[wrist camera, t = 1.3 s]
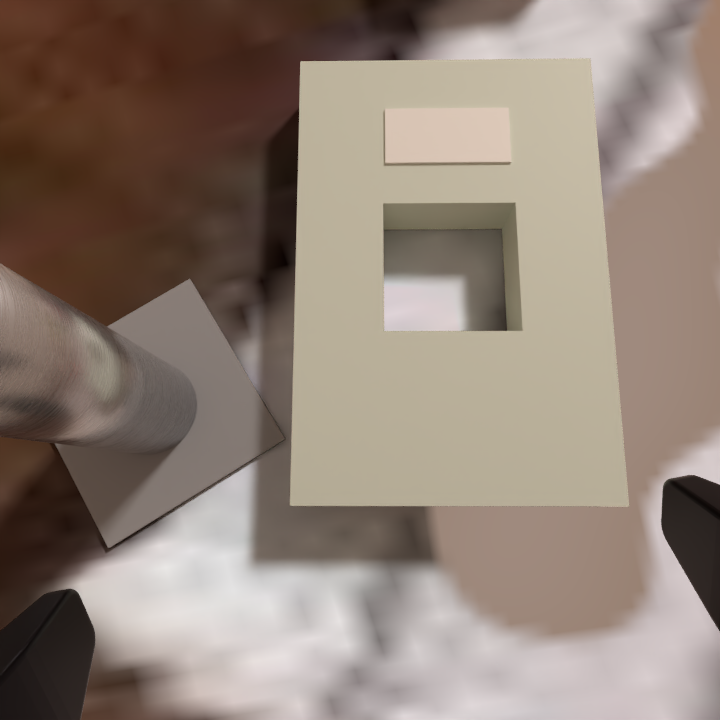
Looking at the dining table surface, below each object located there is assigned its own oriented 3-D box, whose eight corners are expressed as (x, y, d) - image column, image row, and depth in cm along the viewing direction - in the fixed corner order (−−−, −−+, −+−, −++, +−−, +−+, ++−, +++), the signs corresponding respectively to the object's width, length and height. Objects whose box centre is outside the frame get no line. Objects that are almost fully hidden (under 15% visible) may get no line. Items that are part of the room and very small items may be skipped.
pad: (110, 547, 24) (108, 548, 23) (23, 377, 25) (20, 377, 25) (285, 439, 24) (284, 438, 24) (191, 280, 26) (189, 278, 26)
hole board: (602, 503, 24) (630, 506, 21) (298, 503, 24) (289, 506, 21) (570, 96, 27) (591, 56, 25) (306, 99, 27) (300, 59, 25)
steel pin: (131, 472, 24) (-191, 459, 10) (88, 393, 25) (-267, 280, 11) (214, 422, 24) (11, 344, 11) (169, 345, 25) (-75, 176, 11)
